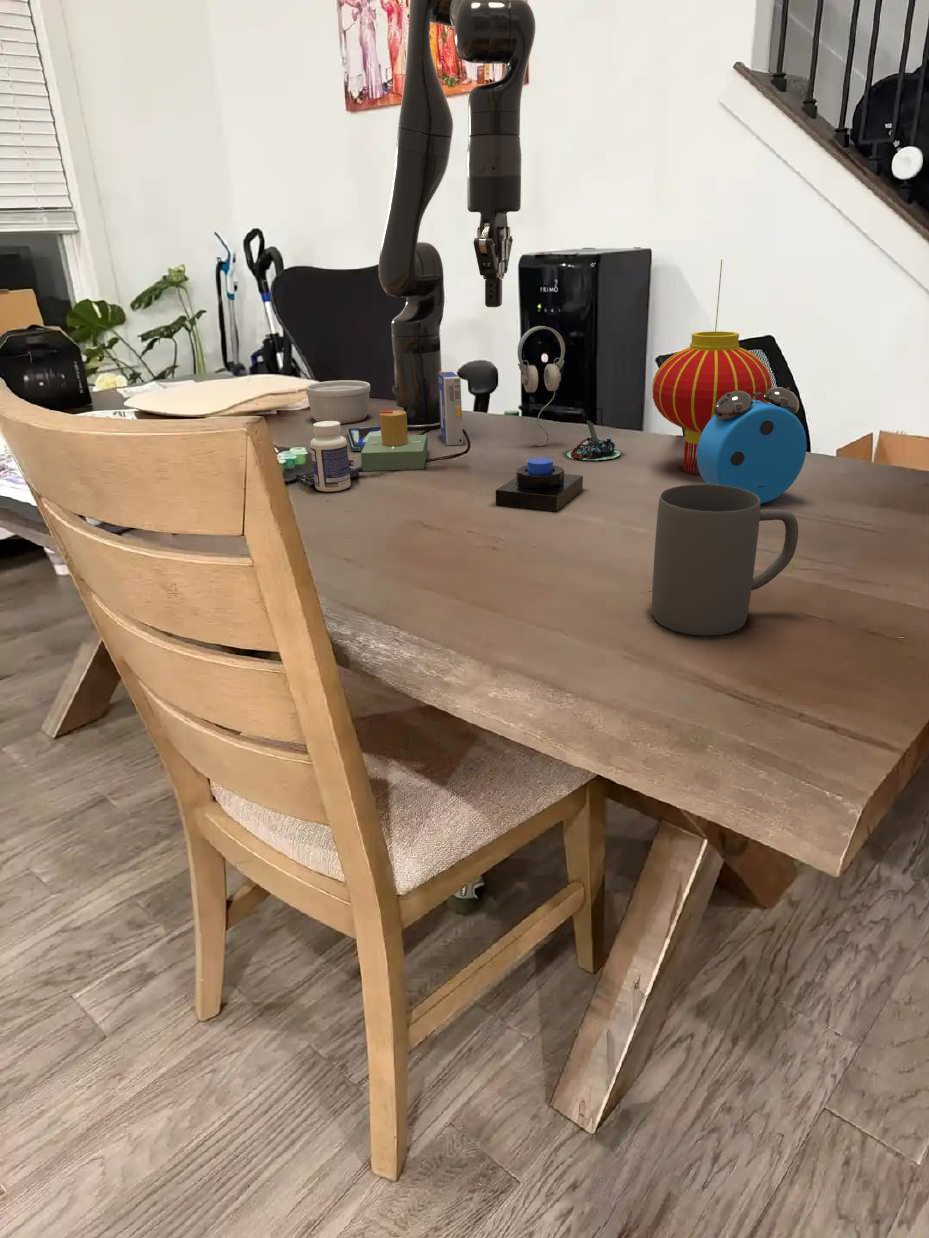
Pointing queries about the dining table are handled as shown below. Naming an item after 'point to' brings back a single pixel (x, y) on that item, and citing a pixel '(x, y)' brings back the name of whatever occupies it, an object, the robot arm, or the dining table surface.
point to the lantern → (705, 382)
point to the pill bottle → (330, 457)
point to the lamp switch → (539, 490)
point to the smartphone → (362, 436)
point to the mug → (711, 557)
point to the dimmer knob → (393, 428)
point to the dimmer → (394, 454)
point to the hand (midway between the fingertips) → (493, 306)
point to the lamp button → (540, 466)
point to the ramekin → (339, 400)
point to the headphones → (550, 373)
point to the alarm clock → (753, 443)
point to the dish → (594, 448)
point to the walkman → (450, 408)
